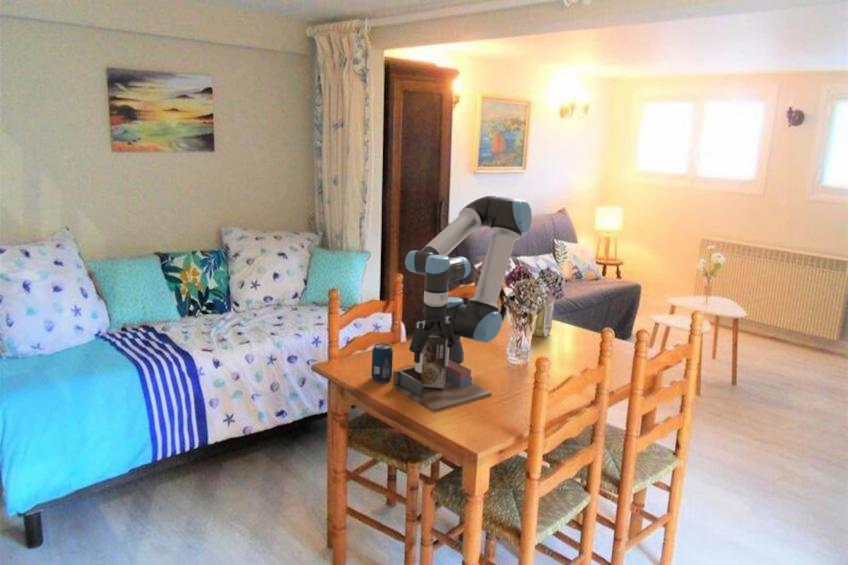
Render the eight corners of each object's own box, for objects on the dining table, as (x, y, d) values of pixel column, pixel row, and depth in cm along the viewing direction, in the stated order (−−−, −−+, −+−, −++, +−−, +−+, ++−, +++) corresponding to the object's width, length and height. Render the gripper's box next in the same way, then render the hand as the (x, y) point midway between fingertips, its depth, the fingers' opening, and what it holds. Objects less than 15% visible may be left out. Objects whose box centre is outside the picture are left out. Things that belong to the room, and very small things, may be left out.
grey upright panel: (398, 385, 209) (398, 371, 208) (400, 385, 209) (400, 371, 208) (420, 398, 200) (421, 383, 199) (422, 397, 200) (423, 383, 199)
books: (437, 375, 219) (438, 362, 218) (448, 372, 222) (449, 359, 221) (460, 387, 210) (461, 373, 209) (471, 384, 213) (472, 370, 212)
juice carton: (551, 333, 277) (556, 291, 272) (547, 338, 269) (551, 295, 265) (534, 330, 280) (538, 288, 275) (529, 335, 272) (533, 292, 268)
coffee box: (445, 381, 212) (448, 335, 208) (443, 389, 206) (446, 342, 202) (418, 378, 213) (421, 333, 209) (415, 386, 207) (418, 339, 203)
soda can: (378, 373, 221) (379, 341, 218) (395, 378, 218) (396, 345, 215) (367, 380, 215) (368, 346, 212) (384, 384, 212) (386, 350, 209)
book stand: (392, 387, 210) (393, 370, 208) (447, 373, 224) (448, 357, 223) (434, 412, 193) (435, 394, 191) (491, 395, 208) (492, 378, 206)
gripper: (414, 311, 193) (410, 379, 198) (469, 301, 207) (465, 365, 212) (399, 305, 199) (396, 371, 204) (454, 296, 213) (450, 358, 218)
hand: (431, 368), depth 208 cm, fingers closed on coffee box, 10 cm apart
